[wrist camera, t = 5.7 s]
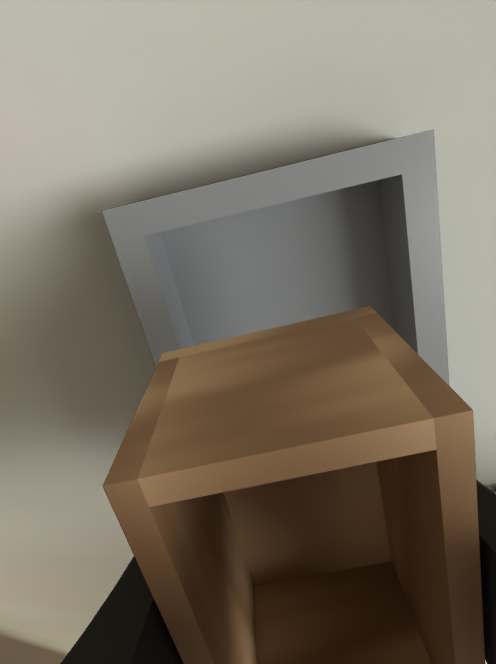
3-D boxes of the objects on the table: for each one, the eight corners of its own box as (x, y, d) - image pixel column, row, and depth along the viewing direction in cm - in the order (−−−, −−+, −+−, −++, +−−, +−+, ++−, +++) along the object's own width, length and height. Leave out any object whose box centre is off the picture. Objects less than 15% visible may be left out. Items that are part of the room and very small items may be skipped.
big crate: (396, 138, 15) (433, 129, 12) (423, 438, 19) (455, 483, 16) (127, 204, 15) (101, 211, 12) (215, 479, 20) (211, 529, 17)
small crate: (369, 305, 9) (473, 410, 5) (404, 555, 12) (489, 753, 8) (162, 352, 10) (102, 486, 6) (241, 585, 13) (241, 790, 8)
